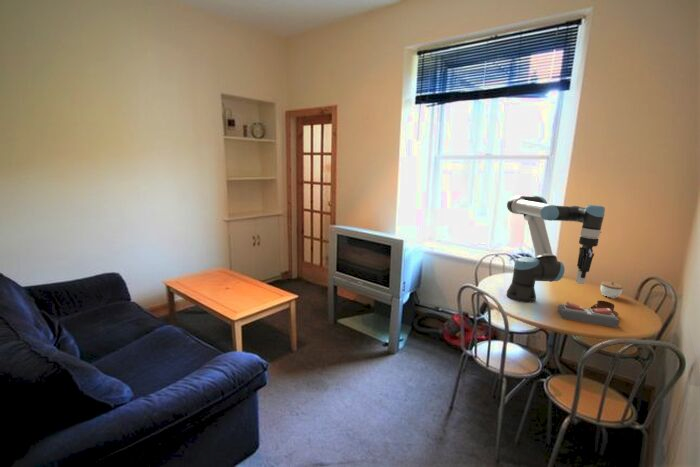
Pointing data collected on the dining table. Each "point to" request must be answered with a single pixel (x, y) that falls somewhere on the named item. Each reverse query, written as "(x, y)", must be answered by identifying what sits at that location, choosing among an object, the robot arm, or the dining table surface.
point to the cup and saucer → (605, 306)
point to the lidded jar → (611, 289)
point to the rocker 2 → (602, 310)
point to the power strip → (588, 316)
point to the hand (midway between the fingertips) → (579, 282)
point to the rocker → (574, 306)
